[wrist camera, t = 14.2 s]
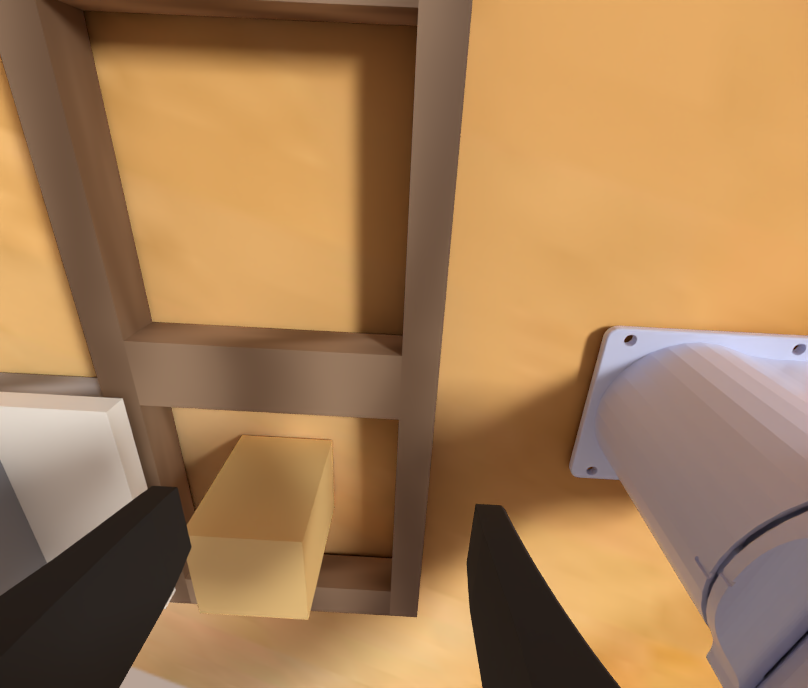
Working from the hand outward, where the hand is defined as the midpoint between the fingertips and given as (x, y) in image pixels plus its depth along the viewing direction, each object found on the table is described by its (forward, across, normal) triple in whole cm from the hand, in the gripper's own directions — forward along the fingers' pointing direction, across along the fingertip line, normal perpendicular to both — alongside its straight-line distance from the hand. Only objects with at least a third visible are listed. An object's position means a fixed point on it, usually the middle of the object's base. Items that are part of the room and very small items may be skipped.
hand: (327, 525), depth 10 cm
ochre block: (+10, +4, +7) cm, 13 cm away
